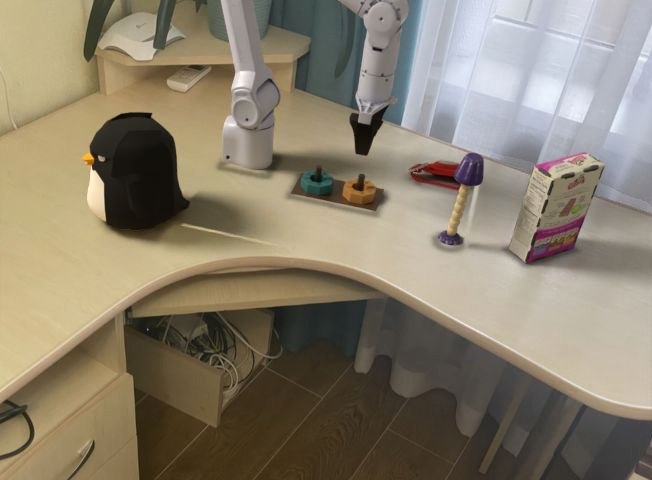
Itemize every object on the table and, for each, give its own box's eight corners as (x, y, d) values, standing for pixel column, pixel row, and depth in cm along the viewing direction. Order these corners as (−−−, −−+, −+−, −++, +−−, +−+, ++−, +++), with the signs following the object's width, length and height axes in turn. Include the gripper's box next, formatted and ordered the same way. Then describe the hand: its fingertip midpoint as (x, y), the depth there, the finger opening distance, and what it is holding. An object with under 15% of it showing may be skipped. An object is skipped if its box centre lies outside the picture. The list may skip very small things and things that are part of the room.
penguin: (81, 193, 135) (68, 102, 123) (177, 180, 140) (173, 91, 128) (99, 250, 123) (87, 155, 111) (204, 233, 127) (203, 140, 116)
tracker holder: (443, 156, 149) (485, 166, 142) (439, 178, 151) (480, 189, 144) (403, 159, 142) (445, 169, 135) (400, 182, 143) (441, 193, 137)
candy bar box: (553, 234, 133) (585, 150, 121) (573, 249, 129) (608, 164, 118) (505, 249, 129) (533, 163, 117) (524, 265, 125) (555, 178, 114)
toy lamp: (465, 239, 130) (490, 152, 119) (462, 253, 127) (487, 166, 115) (438, 233, 131) (460, 146, 120) (434, 247, 128) (456, 159, 116)
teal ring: (298, 191, 137) (298, 182, 136) (306, 176, 141) (306, 168, 140) (328, 197, 136) (329, 188, 135) (335, 182, 140) (336, 173, 139)
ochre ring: (340, 200, 136) (341, 191, 135) (347, 184, 140) (348, 176, 139) (370, 206, 135) (372, 197, 134) (376, 190, 139) (378, 182, 138)
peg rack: (290, 197, 137) (292, 172, 134) (301, 176, 143) (303, 152, 140) (375, 214, 134) (379, 190, 131) (383, 192, 140) (387, 169, 137)
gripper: (394, 91, 118) (380, 167, 128) (408, 57, 128) (394, 130, 138) (350, 83, 119) (340, 159, 129) (368, 50, 130) (357, 123, 139)
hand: (365, 144), depth 133 cm, fingers open, 7 cm apart
